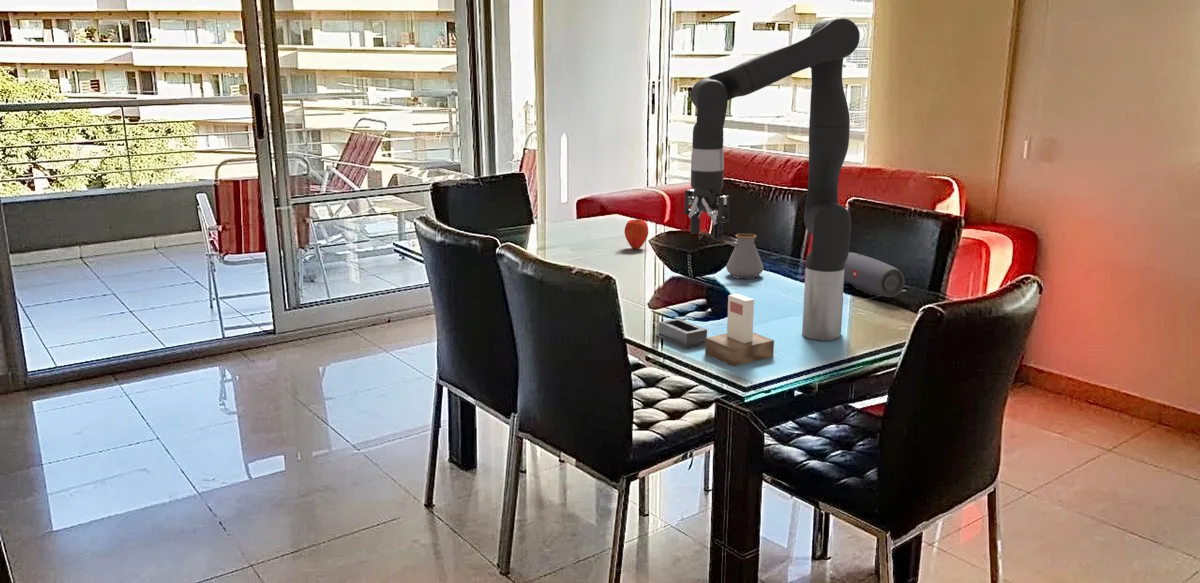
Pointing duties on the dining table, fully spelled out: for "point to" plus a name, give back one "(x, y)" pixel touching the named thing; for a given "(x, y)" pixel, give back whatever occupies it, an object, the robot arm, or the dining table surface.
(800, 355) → the dining table surface
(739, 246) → the coffee pot
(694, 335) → the grey box
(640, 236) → the apple
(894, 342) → the dining table surface
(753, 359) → the brown wooden block
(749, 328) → the white box
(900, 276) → the bluetooth speaker
